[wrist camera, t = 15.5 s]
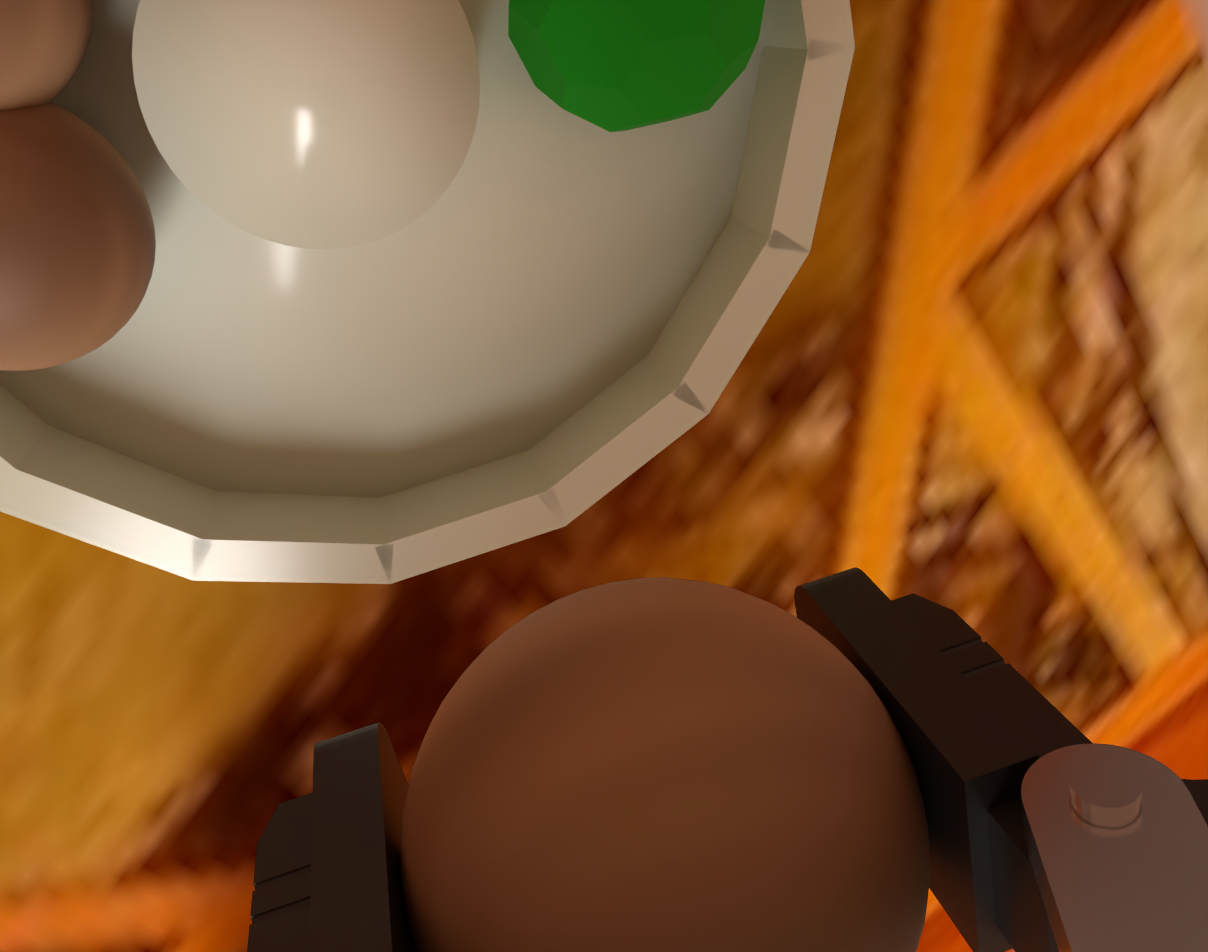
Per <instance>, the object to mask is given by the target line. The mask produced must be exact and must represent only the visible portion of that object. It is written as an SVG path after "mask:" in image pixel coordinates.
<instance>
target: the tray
mask: <svg viewBox="0 0 1208 952" xmlns="http://www.w3.org/2000/svg"><path fill="white" fill-rule="evenodd" d="M508 17H509V0H95V3H94V21H93V27H92V33H91V38H90V41H89V44H88V47H87V50H86V53H85V56H84V58H83V60H82V62H81V64H80V66H79V68H78V70H77V71H76V73H75V74H74V76H73V77H72V78H71V80H70V81H69V83H68V84H67V85H66V87H65V88H64V89H63V90H62V91H61V92H60V93H59V94H58V95H57V96H56V97H55V98H54V99H52V100H51V101H50V102H51V103H53V104H55V105H58V106H60V107H62V108H64V109H66V110H67V111H69V112H71V113H72V114H74V115H76V116H78V117H79V118H81V119H83V120H84V121H85V122H87V123H88V124H89V125H91V126H92V127H93V128H95V129H96V130H97V131H99V132H100V133H101V134H102V135H103V136H104V137H105V138H106V139H107V140H108V141H109V142H110V143H112V144H113V146H114V147H115V148H116V149H117V150H118V151H119V153H120V154H121V155H122V156H123V157H124V158H125V160H126V161H127V163H128V164H129V166H130V167H131V169H132V170H133V172H134V173H135V175H136V177H137V178H138V180H139V182H140V184H141V186H142V188H143V190H144V193H145V195H146V198H147V201H148V204H149V206H150V210H151V214H152V218H153V223H154V229H155V240H156V249H155V262H154V267H153V272H152V277H151V280H150V282H149V285H148V288H147V290H146V293H145V296H144V298H143V300H142V301H141V303H140V305H139V307H138V309H137V311H136V312H135V313H134V315H133V316H132V317H131V318H130V320H129V321H128V322H127V324H126V325H125V326H124V327H122V328H121V329H120V330H119V331H118V332H117V333H116V334H115V335H114V336H113V337H112V338H111V339H110V340H108V341H107V342H106V343H104V344H103V345H101V346H100V347H99V348H97V349H95V350H94V351H92V352H90V353H88V354H86V355H84V356H82V357H80V358H77V359H74V360H71V361H69V362H66V363H63V364H61V365H57V366H52V367H48V368H44V369H36V370H26V371H5V370H0V511H1V512H3V513H6V514H9V515H12V516H15V517H17V518H20V519H23V520H26V521H29V522H31V523H34V524H37V525H40V526H42V527H45V528H48V529H51V530H54V531H56V532H59V533H62V534H65V535H68V536H70V537H73V538H76V539H79V540H81V541H84V542H87V543H90V544H93V545H95V546H98V547H101V548H104V549H107V550H109V551H112V552H115V553H118V554H121V555H123V556H126V557H129V558H132V559H134V560H137V561H140V562H143V563H146V564H148V565H151V566H154V567H157V568H160V569H162V570H165V571H168V572H171V573H173V574H176V575H179V576H182V577H185V578H187V579H190V580H193V581H244V582H300V583H356V584H392V583H395V582H398V581H401V580H404V579H407V578H410V577H413V576H416V575H419V574H422V573H425V572H428V571H431V570H434V569H437V568H440V567H443V566H446V565H449V564H452V563H455V562H458V561H462V560H465V559H468V558H471V557H474V556H477V555H480V554H483V553H486V552H489V551H492V550H495V549H498V548H501V547H504V546H507V545H510V544H513V543H516V542H519V541H522V540H525V539H528V538H531V537H534V536H537V535H540V534H543V533H546V532H549V531H552V530H555V529H559V528H562V527H565V526H566V525H567V524H569V523H570V522H571V521H573V520H574V519H575V518H576V517H578V516H579V515H580V514H582V513H583V512H584V511H585V510H587V509H588V508H589V507H590V506H592V505H593V504H594V503H596V502H597V501H598V500H599V499H601V498H602V497H603V496H604V495H606V494H607V493H608V492H610V491H611V490H612V489H613V488H615V487H616V486H617V485H619V484H620V483H621V482H622V481H624V480H625V479H626V478H627V477H629V476H630V475H631V474H633V473H634V472H635V471H636V470H638V469H639V468H640V467H642V466H643V465H644V464H645V463H647V462H648V461H649V460H650V459H652V458H653V457H654V456H656V455H657V454H658V453H659V452H661V451H662V450H663V449H665V448H666V447H667V446H668V445H670V444H671V443H672V442H673V441H675V440H676V439H677V438H679V437H680V436H681V435H682V434H684V433H685V432H686V431H687V430H689V429H690V428H691V427H693V426H694V425H695V424H696V423H698V422H699V421H700V420H702V419H703V418H704V417H705V416H707V415H708V414H709V413H710V411H711V409H712V408H713V406H714V405H715V403H716V401H717V400H718V398H719V397H720V395H721V393H722V392H723V390H724V389H725V387H726V385H727V384H728V382H729V381H730V379H731V377H732V376H733V374H734V373H735V371H736V369H737V368H738V366H739V365H740V363H741V361H742V360H743V358H744V357H745V355H746V353H747V352H748V350H749V349H750V347H751V345H752V344H753V342H754V341H755V339H756V337H757V336H758V334H759V333H760V331H761V329H762V328H763V326H764V325H765V323H766V321H767V320H768V318H769V317H770V315H771V313H772V312H773V310H774V309H775V307H776V305H777V304H778V302H779V301H780V299H781V297H782V296H783V294H784V293H785V291H786V289H787V288H788V286H789V285H790V283H791V281H792V280H793V278H794V277H795V275H796V273H797V272H798V270H799V269H800V267H801V265H802V264H803V262H804V261H805V259H806V257H807V256H808V254H809V253H810V250H811V245H812V241H813V236H814V231H815V227H816V222H817V218H818V213H819V209H820V204H821V200H822V195H823V190H824V186H825V181H826V177H827V172H828V168H829V163H830V159H831V154H832V150H833V145H834V140H835V136H836V131H837V127H838V122H839V118H840V113H841V109H842V104H843V99H844V95H845V90H846V86H847V81H848V77H849V72H850V68H851V63H852V59H853V54H854V49H855V42H854V33H853V25H852V17H851V9H850V0H765V5H764V11H763V17H762V23H761V28H760V34H759V40H758V42H757V44H756V47H755V49H754V51H753V53H752V56H751V58H750V60H749V62H748V64H747V67H746V69H745V70H744V71H743V72H742V73H741V74H740V75H739V77H738V78H737V79H736V80H735V81H734V82H733V83H732V85H731V86H730V87H729V88H728V89H727V90H726V91H725V93H724V94H723V95H722V96H721V97H720V98H719V99H718V100H717V102H716V103H715V104H714V105H713V106H712V107H711V108H710V110H708V111H704V112H701V113H697V114H693V115H690V116H686V117H683V118H679V119H675V120H671V121H667V122H662V123H658V124H653V125H649V126H645V127H640V128H636V129H631V130H627V131H618V132H609V131H607V130H605V129H603V128H601V127H599V126H597V125H594V124H592V123H590V122H588V121H586V120H584V119H582V118H580V117H578V116H576V115H574V114H572V113H570V112H568V111H566V110H564V109H562V108H561V107H560V106H558V105H557V104H556V103H555V102H554V101H552V100H551V99H550V98H549V97H548V96H546V95H545V94H544V93H543V92H542V91H540V90H539V89H538V88H537V87H536V86H535V85H534V83H533V81H532V79H531V77H530V75H529V74H528V72H527V70H526V68H525V66H524V64H523V62H522V60H521V59H520V57H519V55H518V53H517V51H516V49H515V47H514V45H513V44H512V42H511V40H510V38H509V36H508Z"/></svg>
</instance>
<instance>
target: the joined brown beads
mask: <svg viewBox="0 0 1208 952" xmlns="http://www.w3.org/2000/svg"><path fill="white" fill-rule="evenodd" d="M94 3H95V0H0V370H5V371H26V370H36V369H44V368H48V367H52V366H57V365H61V364H63V363H66V362H69V361H71V360H74V359H77V358H80V357H82V356H84V355H86V354H88V353H90V352H92V351H94V350H95V349H97V348H99V347H100V346H101V345H103V344H104V343H106V342H107V341H108V340H110V339H111V338H112V337H113V336H114V335H115V334H116V333H117V332H118V331H119V330H120V329H121V328H122V327H124V326H125V325H126V324H127V322H128V321H129V320H130V318H131V317H132V316H133V315H134V313H135V312H136V311H137V309H138V307H139V305H140V303H141V301H142V300H143V298H144V296H145V293H146V290H147V288H148V285H149V282H150V280H151V277H152V272H153V267H154V262H155V249H156V240H155V229H154V223H153V218H152V214H151V210H150V206H149V204H148V201H147V198H146V195H145V193H144V190H143V188H142V186H141V184H140V182H139V180H138V178H137V177H136V175H135V173H134V172H133V170H132V169H131V167H130V166H129V164H128V163H127V161H126V160H125V158H124V157H123V156H122V155H121V154H120V153H119V151H118V150H117V149H116V148H115V147H114V146H113V144H112V143H110V142H109V141H108V140H107V139H106V138H105V137H104V136H103V135H102V134H101V133H100V132H99V131H97V130H96V129H95V128H93V127H92V126H91V125H89V124H88V123H87V122H85V121H84V120H83V119H81V118H79V117H78V116H76V115H74V114H72V113H71V112H69V111H67V110H66V109H64V108H62V107H60V106H58V105H55V104H53V103H51V102H50V101H51V100H52V99H54V98H55V97H56V96H57V95H58V94H59V93H60V92H61V91H62V90H63V89H64V88H65V87H66V85H67V84H68V83H69V81H70V80H71V78H72V77H73V76H74V74H75V73H76V71H77V70H78V68H79V66H80V64H81V62H82V60H83V58H84V56H85V53H86V50H87V47H88V44H89V41H90V38H91V33H92V27H93V21H94Z"/></svg>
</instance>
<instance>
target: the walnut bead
mask: <svg viewBox="0 0 1208 952" xmlns="http://www.w3.org/2000/svg"><path fill="white" fill-rule="evenodd" d="M401 879H402V886H403V892H404V898H405V904H406V910H407V916H408V921H409V925H410V929H411V933H412V935H413V938H414V941H415V944H416V947H417V950H418V952H916V950H917V947H918V944H919V940H920V937H921V933H922V930H923V926H924V922H925V914H926V907H927V899H928V890H929V881H930V850H929V836H928V823H927V818H926V813H925V808H924V802H923V798H922V794H921V790H920V786H919V782H918V778H917V775H916V772H915V769H914V766H913V763H912V761H911V758H910V756H909V753H908V750H907V748H906V746H905V744H904V741H903V739H902V737H901V735H900V732H899V730H898V728H897V726H896V724H895V722H894V721H893V719H892V717H891V716H890V714H889V713H888V711H887V709H886V708H885V706H884V704H883V703H882V701H881V700H880V698H879V697H878V695H877V694H876V692H875V691H874V689H873V688H872V687H871V685H870V684H869V682H868V681H867V680H866V679H865V678H864V677H863V675H862V674H861V673H860V672H859V671H858V670H857V669H856V667H855V666H854V665H853V664H852V663H851V662H850V661H849V660H848V659H847V658H846V657H845V656H844V655H843V654H842V653H841V652H840V651H839V650H838V649H837V648H836V647H835V646H834V645H833V644H832V643H830V642H829V641H828V640H827V639H826V638H824V637H823V636H822V635H821V634H819V633H818V632H817V631H816V630H814V629H813V628H811V627H810V626H809V625H807V624H806V623H804V622H803V621H801V620H800V619H798V618H797V617H795V616H793V615H792V614H790V613H788V612H786V611H785V610H783V609H781V608H779V607H778V606H776V605H774V604H772V603H769V602H767V601H764V600H762V599H759V598H757V597H754V596H752V595H749V594H746V593H744V592H741V591H739V590H736V589H734V588H730V587H726V586H722V585H718V584H713V583H709V582H704V581H694V580H684V579H674V578H637V579H630V580H623V581H616V582H610V583H606V584H603V585H599V586H595V587H591V588H587V589H584V590H581V591H579V592H576V593H573V594H571V595H568V596H566V597H563V598H560V599H558V600H556V601H554V602H552V603H550V604H548V605H546V606H544V607H542V608H540V609H538V610H536V611H535V612H533V613H531V614H529V615H528V616H526V617H525V618H523V619H522V620H521V621H519V622H518V623H516V624H515V625H513V626H512V627H510V628H509V629H507V630H506V631H505V632H504V633H503V634H501V635H500V636H499V637H498V638H497V639H496V640H494V641H493V642H492V643H491V644H490V645H488V646H487V647H486V648H485V649H484V650H483V652H482V653H481V654H480V655H479V656H478V657H477V658H476V659H475V660H474V661H473V662H472V663H471V664H470V666H469V667H468V668H467V669H466V670H465V671H464V673H463V674H462V675H461V676H460V678H459V679H458V680H457V682H456V683H455V685H454V686H453V687H452V689H451V690H450V691H449V693H448V694H447V696H446V697H445V698H444V700H443V701H442V703H441V705H440V707H439V709H438V711H437V712H436V714H435V716H434V718H433V720H432V722H431V724H430V726H429V728H428V730H427V732H426V735H425V737H424V739H423V741H422V744H421V746H420V749H419V752H418V755H417V757H416V760H415V763H414V766H413V768H412V772H411V777H410V782H409V787H408V791H407V796H406V801H405V806H404V811H403V816H402V828H401Z"/></svg>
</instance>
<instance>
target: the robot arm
mask: <svg viewBox="0 0 1208 952" xmlns="http://www.w3.org/2000/svg"><path fill="white" fill-rule="evenodd" d="M794 597H795V607H796V613H797V618H798V619H800V620H801V621H803V622H804V623H806V624H807V625H809V626H810V627H811V628H813V629H814V630H816V631H817V632H818V633H819V634H821V635H822V636H823V637H824V638H826V639H827V640H828V641H829V642H830V643H832V644H833V645H834V646H835V647H836V648H837V649H838V650H839V651H840V652H841V653H842V654H843V655H844V656H845V657H846V658H847V659H848V660H849V661H850V662H851V663H852V664H853V665H854V666H855V667H856V669H857V670H858V671H859V672H860V673H861V674H862V675H863V677H864V678H865V679H866V680H867V681H868V682H869V684H870V685H871V687H872V688H873V689H874V691H875V692H876V694H877V695H878V697H879V698H880V700H881V701H882V703H883V704H884V706H885V708H886V709H887V711H888V713H889V714H890V716H891V717H892V719H893V721H894V722H895V724H896V726H897V728H898V730H899V732H900V735H901V737H902V739H903V741H904V744H905V746H906V748H907V750H908V753H909V756H910V758H911V761H912V763H913V766H914V769H915V772H916V775H917V778H918V782H919V786H920V790H921V794H922V798H923V802H924V808H925V813H926V818H927V823H928V836H929V850H930V881H929V888H930V889H931V891H932V892H933V894H934V895H935V897H936V898H937V899H938V901H939V902H940V904H941V905H942V907H943V908H944V910H945V911H946V913H947V914H948V916H949V917H950V918H951V920H952V921H953V923H954V924H955V926H956V927H957V929H958V930H959V932H960V933H961V934H962V936H963V937H964V939H965V940H966V942H967V943H968V945H969V946H970V948H971V949H972V950H973V952H1004V951H1007V950H1009V949H1012V948H1013V949H1014V950H1015V952H1208V780H1187V779H1180V778H1179V777H1178V776H1177V775H1176V774H1175V773H1174V772H1173V771H1172V770H1170V769H1169V768H1168V767H1166V766H1165V765H1164V764H1162V763H1160V762H1159V761H1157V760H1155V759H1153V758H1152V757H1150V756H1147V755H1145V754H1143V753H1140V752H1138V751H1134V750H1131V749H1128V748H1125V747H1119V746H1114V745H1107V744H1093V743H1092V742H1091V741H1090V740H1089V739H1087V738H1086V737H1085V736H1084V735H1083V734H1082V733H1081V732H1080V731H1079V730H1078V729H1077V728H1076V727H1075V726H1074V725H1073V724H1072V723H1071V722H1070V721H1069V720H1068V719H1066V718H1065V717H1064V716H1063V715H1062V714H1061V713H1060V712H1059V711H1058V710H1057V709H1056V708H1055V707H1054V706H1053V705H1052V704H1051V703H1050V702H1049V701H1048V700H1047V699H1045V698H1044V697H1043V696H1042V695H1041V694H1040V693H1039V692H1038V691H1037V690H1036V689H1035V688H1034V687H1033V686H1032V685H1031V684H1030V683H1029V682H1028V681H1027V680H1026V679H1025V678H1023V677H1022V676H1021V675H1020V674H1019V673H1018V672H1017V671H1016V670H1015V669H1014V668H1013V667H1012V666H1011V665H1010V664H1005V663H1004V660H1003V658H1002V657H1001V656H1000V655H999V654H998V653H997V652H996V651H995V650H994V649H993V648H992V647H991V646H990V645H989V644H988V643H987V642H984V643H983V642H982V640H981V637H980V636H979V635H978V634H977V633H976V632H975V631H974V630H973V629H972V628H971V627H970V626H969V625H968V624H967V623H966V622H965V621H964V620H963V619H962V618H961V617H959V616H958V615H957V614H956V613H955V612H954V611H953V610H951V609H948V608H946V607H944V606H941V605H939V604H937V603H934V602H932V601H930V600H927V599H925V598H923V597H920V596H918V595H916V594H910V595H907V596H904V597H901V598H898V599H895V600H892V601H891V600H890V599H889V598H888V597H887V596H886V595H885V594H884V593H883V592H882V591H881V590H880V589H879V588H878V587H877V586H876V585H875V584H874V583H873V581H872V580H871V579H870V578H869V577H868V576H867V575H866V574H865V573H864V572H863V571H862V570H860V569H859V568H852V569H849V570H846V571H843V572H839V573H836V574H833V575H830V576H827V577H824V578H821V579H818V580H815V581H812V582H809V583H806V584H803V585H800V586H797V587H796V589H795V595H794ZM408 787H409V786H408V783H407V781H406V778H405V776H404V773H403V771H402V768H401V766H400V763H399V761H398V758H397V755H396V753H395V750H394V748H393V745H392V743H391V740H390V738H389V736H388V733H387V731H386V729H385V727H384V726H383V724H382V723H381V722H379V723H376V724H373V725H370V726H367V727H364V728H360V729H357V730H354V731H351V732H348V733H345V734H342V735H339V736H336V737H333V738H330V739H327V740H324V741H321V742H318V743H316V744H315V747H314V765H313V793H310V794H307V795H304V796H301V797H298V798H295V799H292V800H289V801H286V802H283V803H280V804H279V805H278V807H277V809H276V811H275V812H274V814H273V816H272V818H271V820H270V822H269V823H268V825H267V827H266V829H265V831H264V832H263V834H262V836H261V838H260V840H259V842H258V843H257V851H256V862H255V873H254V886H255V891H253V895H252V906H251V919H252V924H251V925H250V928H249V939H248V950H247V952H418V950H417V947H416V944H415V941H414V938H413V935H412V933H411V929H410V925H409V921H408V916H407V910H406V904H405V898H404V892H403V886H402V879H401V828H402V816H403V811H404V806H405V801H406V796H407V791H408Z"/></svg>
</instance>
